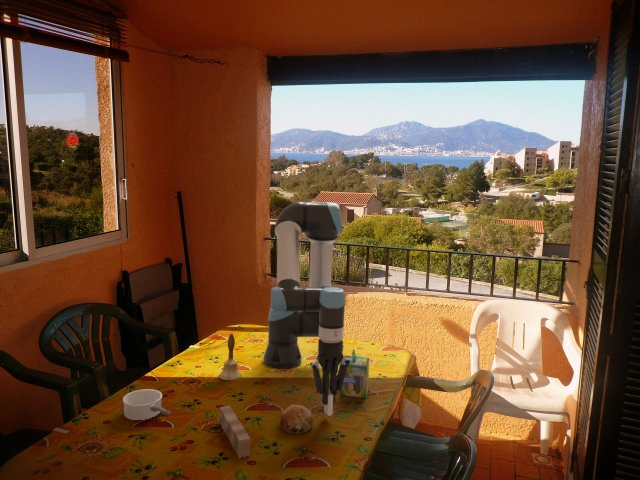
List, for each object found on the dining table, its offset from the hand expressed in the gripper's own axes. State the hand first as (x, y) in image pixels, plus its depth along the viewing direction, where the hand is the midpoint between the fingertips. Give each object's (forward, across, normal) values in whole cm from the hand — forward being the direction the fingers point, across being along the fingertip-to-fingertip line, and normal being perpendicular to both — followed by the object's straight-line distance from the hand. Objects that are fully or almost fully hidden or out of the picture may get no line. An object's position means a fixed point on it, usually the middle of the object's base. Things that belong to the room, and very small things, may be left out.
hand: (328, 413), depth 152 cm
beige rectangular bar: (+2, -30, 0) cm, 30 cm away
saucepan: (+2, -50, +21) cm, 54 cm away
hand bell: (+2, -19, +43) cm, 47 cm away
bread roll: (+2, -11, 0) cm, 11 cm away
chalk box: (+2, +17, +14) cm, 22 cm away
